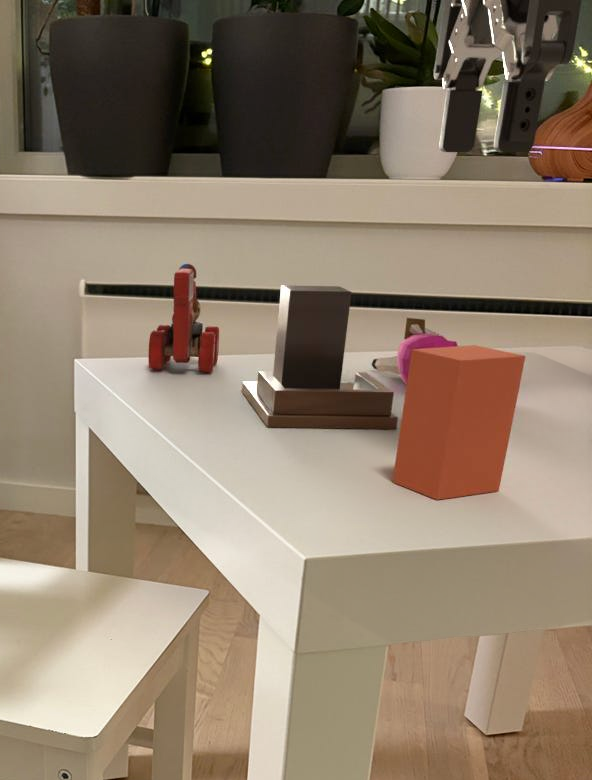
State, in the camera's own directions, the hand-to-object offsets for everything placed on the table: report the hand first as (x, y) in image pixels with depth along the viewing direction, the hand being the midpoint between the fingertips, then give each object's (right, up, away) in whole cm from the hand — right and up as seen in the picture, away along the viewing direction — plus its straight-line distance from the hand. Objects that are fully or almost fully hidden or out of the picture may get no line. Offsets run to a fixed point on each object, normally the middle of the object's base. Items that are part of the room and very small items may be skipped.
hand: (481, 152), depth 63 cm
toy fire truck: (-16, -2, +44) cm, 47 cm away
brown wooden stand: (-6, -10, +26) cm, 29 cm away
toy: (+9, -5, +38) cm, 39 cm away
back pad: (-1, -21, +4) cm, 21 cm away
